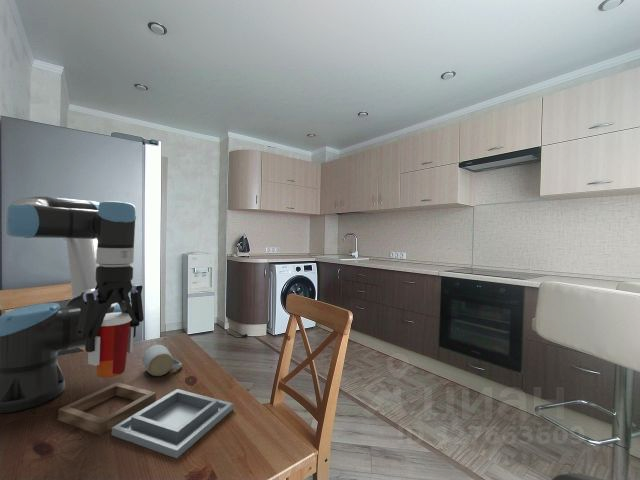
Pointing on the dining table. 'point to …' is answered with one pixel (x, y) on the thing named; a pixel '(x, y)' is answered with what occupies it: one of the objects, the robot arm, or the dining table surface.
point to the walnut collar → (93, 423)
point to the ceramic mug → (159, 360)
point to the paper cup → (113, 344)
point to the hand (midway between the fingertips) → (111, 357)
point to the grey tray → (173, 422)
